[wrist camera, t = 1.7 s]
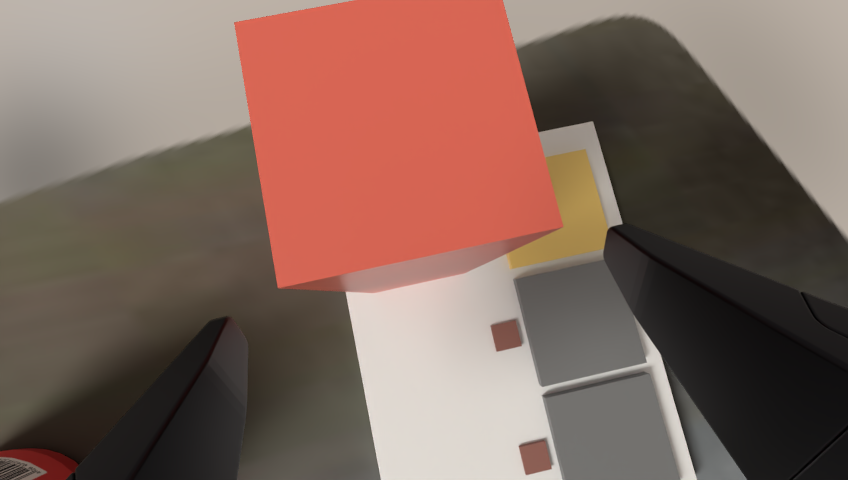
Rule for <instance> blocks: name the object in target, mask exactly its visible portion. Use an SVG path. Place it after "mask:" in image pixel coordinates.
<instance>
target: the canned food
mask: <svg viewBox="0 0 848 480" xmlns="http://www.w3.org/2000/svg"><path fill="white" fill-rule="evenodd" d="M77 467H78V464H77V463H76V462H75V461H74V460H72V459H70V458H68V457H66V456H65V455H63V454H61V453H58V452H54V451H50V450H47V449H36V448H25V449H13V450H6V451H0V480H66V479H67V477H68V476H69V475H70V474H71V473H74V472H75V469H76V468H77Z"/></svg>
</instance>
